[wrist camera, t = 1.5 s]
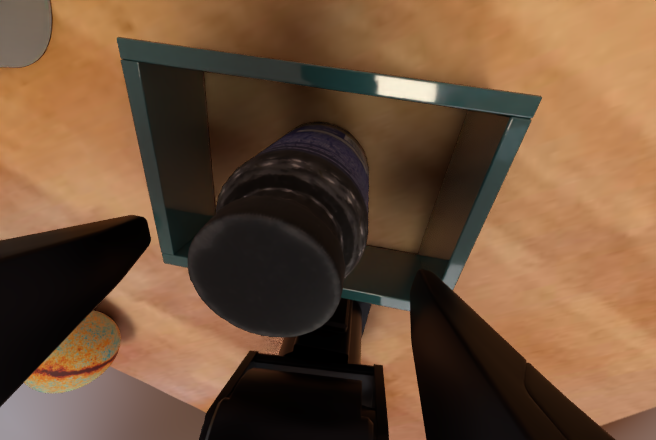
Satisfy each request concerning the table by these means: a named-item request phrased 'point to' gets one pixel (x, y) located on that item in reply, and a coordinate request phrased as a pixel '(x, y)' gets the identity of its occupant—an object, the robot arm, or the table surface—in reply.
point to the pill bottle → (285, 233)
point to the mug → (23, 31)
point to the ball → (79, 356)
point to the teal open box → (190, 101)
